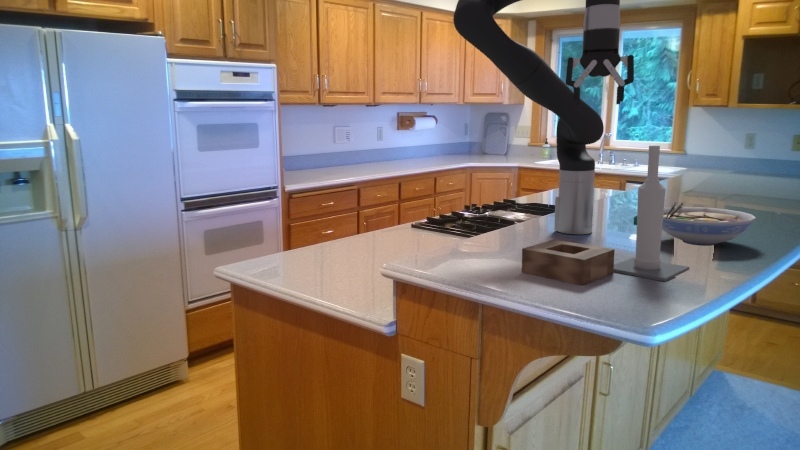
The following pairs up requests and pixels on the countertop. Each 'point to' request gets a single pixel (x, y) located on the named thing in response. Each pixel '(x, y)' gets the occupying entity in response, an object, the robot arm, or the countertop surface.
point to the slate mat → (660, 274)
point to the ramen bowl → (704, 224)
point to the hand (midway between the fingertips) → (598, 104)
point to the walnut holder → (568, 261)
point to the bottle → (650, 216)
